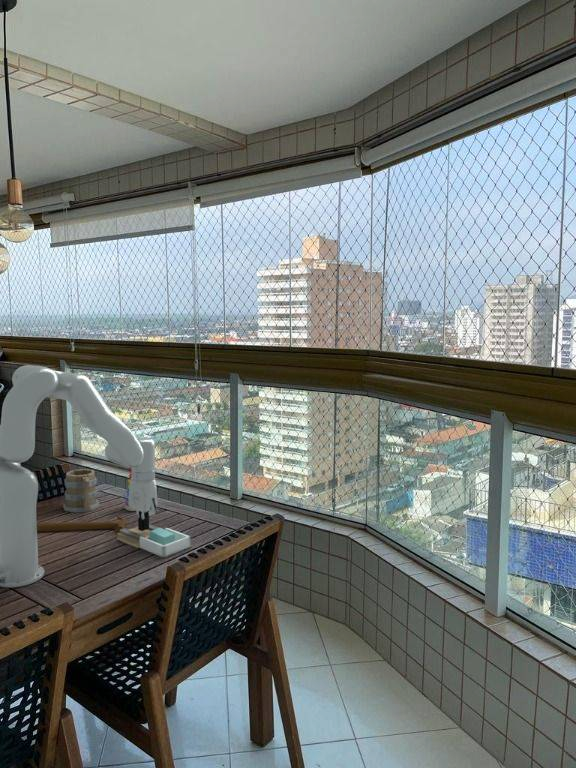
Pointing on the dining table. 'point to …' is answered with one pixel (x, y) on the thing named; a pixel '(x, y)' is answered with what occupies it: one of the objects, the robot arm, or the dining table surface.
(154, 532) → the teal cube block
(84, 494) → the tankard
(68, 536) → the dining table surface
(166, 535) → the light teal cube
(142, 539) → the tray
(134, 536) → the slot board
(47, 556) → the dining table surface
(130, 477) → the stacking toy
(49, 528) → the hammer
